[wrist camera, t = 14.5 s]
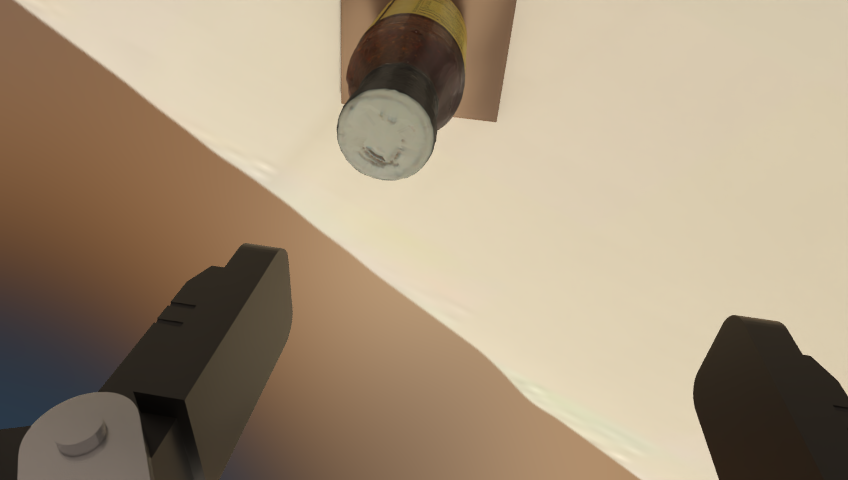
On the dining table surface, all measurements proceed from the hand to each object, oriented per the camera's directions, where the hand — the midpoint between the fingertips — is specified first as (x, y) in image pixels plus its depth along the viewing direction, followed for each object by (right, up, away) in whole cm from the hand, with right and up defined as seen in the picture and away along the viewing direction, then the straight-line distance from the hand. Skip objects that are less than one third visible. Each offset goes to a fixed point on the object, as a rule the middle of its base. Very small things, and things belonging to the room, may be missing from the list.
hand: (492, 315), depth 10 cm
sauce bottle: (-1, +16, +28) cm, 33 cm away
